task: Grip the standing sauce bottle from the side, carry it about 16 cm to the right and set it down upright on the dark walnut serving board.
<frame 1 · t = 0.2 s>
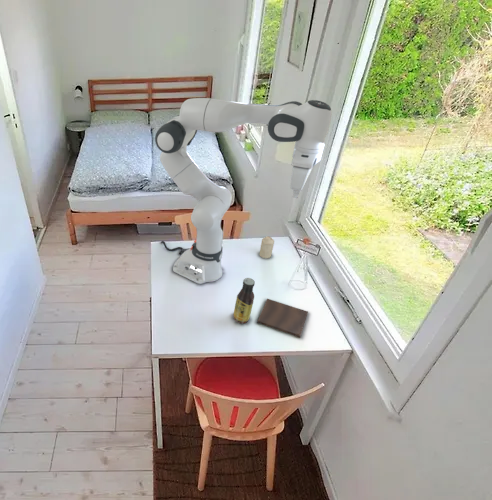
hand: (298, 191, 133), 48 cm above the table, tool pointing down, fingers open, 8 cm apart
sauce bottle: (241, 319, 149), on the table
serving board: (282, 318, 149), on the table
candle: (265, 255, 183), on the table
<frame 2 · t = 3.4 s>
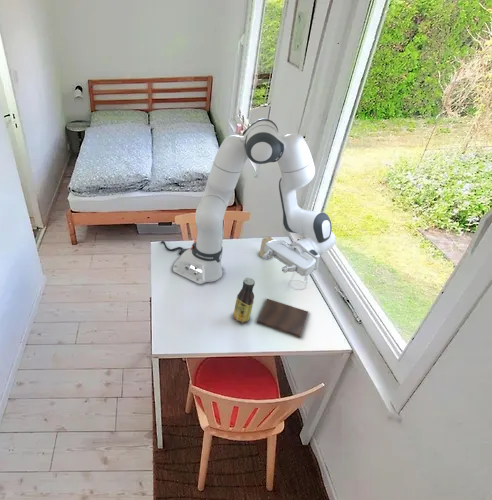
hand: (273, 263, 141), 22 cm above the table, tool horizontal, fingers open, 8 cm apart
nothing on the table moved.
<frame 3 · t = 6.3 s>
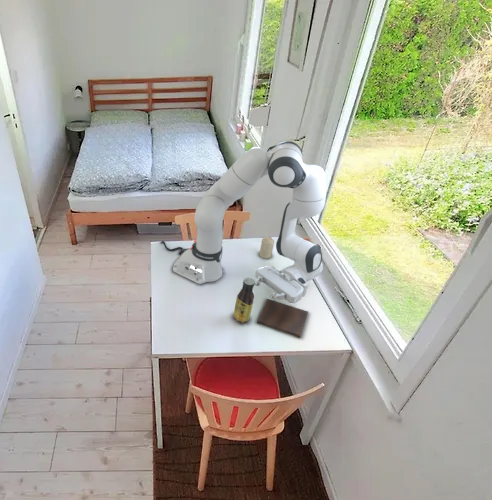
hand: (263, 290, 147), 10 cm above the table, tool horizontal, fingers open, 8 cm apart
nothing on the table moved.
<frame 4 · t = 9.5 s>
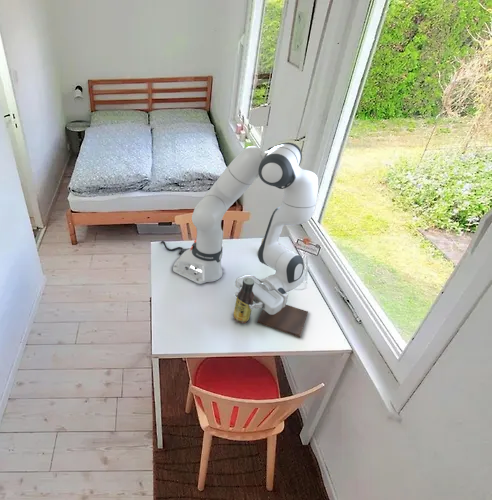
hand: (242, 301, 143), 10 cm above the table, tool horizontal, fingers closed on sauce bottle, 6 cm apart
sauce bottle: (241, 319, 149), on the table, touching gripper
everything else where it was.
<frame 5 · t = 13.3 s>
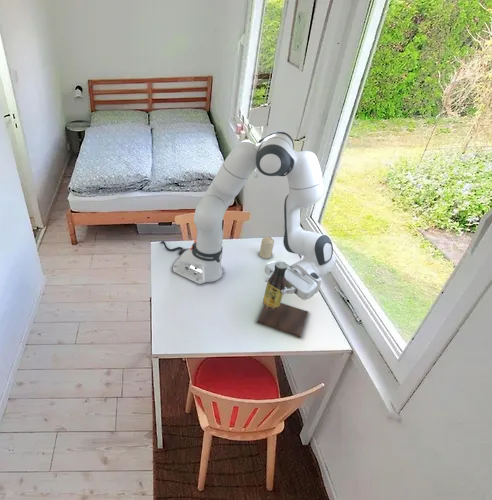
hand: (274, 286, 139), 17 cm above the table, tool horizontal, fingers closed on sauce bottle, 6 cm apart
sauce bottle: (271, 305, 145), point 7 cm above the table, touching gripper
everything else where it was.
when the fingers open (11 cm above the table, at t = 16.9 s): sauce bottle stays where it is, resting on serving board.
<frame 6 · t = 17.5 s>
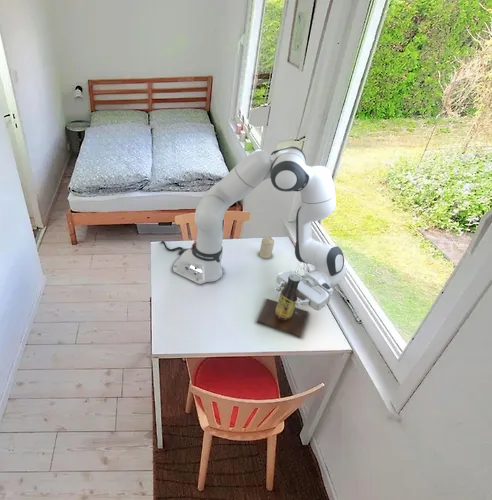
hand: (286, 296, 142), 12 cm above the table, tool horizontal, fingers open, 8 cm apart
sauce bottle: (283, 316, 149), point 1 cm above the table, touching serving board
everything else where it was.
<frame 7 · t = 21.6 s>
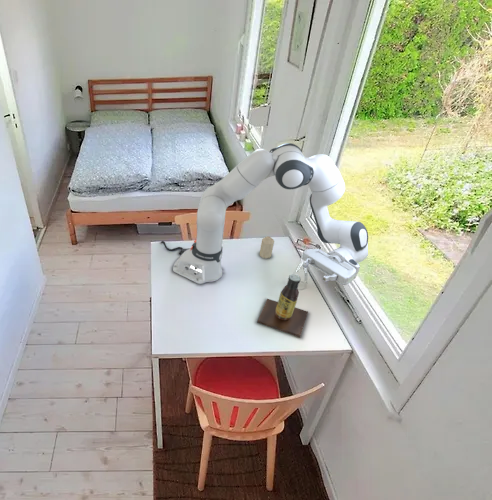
hand: (313, 272, 144), 18 cm above the table, tool horizontal, fingers open, 8 cm apart
nothing on the table moved.
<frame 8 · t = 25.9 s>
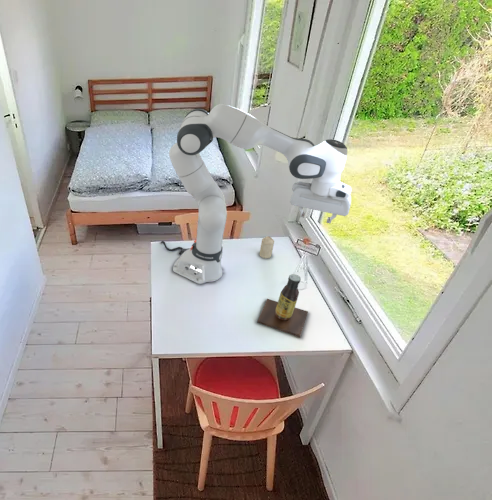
hand: (315, 219, 143), 34 cm above the table, tool pointing down, fingers open, 8 cm apart
nothing on the table moved.
at the end: sauce bottle inside the target area on the serving board (0.1 cm from its centre), point 1.0 cm above the serving board's base; sauce bottle tilted 0°; the gripper is holding nothing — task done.
